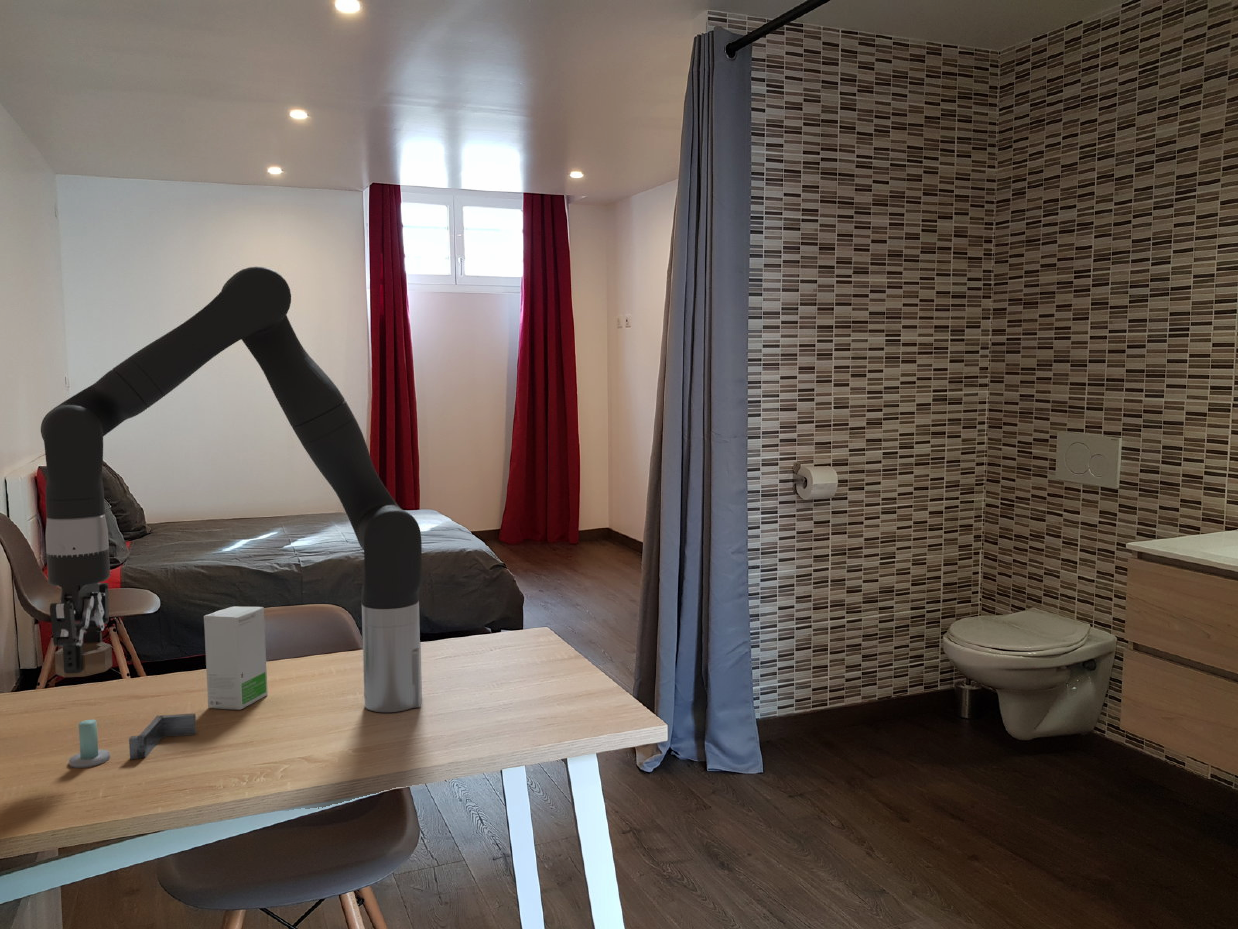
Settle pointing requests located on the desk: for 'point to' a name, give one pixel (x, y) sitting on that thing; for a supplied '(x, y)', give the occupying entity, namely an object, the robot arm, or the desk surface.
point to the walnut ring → (88, 660)
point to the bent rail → (161, 733)
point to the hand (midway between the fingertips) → (84, 664)
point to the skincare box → (235, 657)
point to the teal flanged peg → (88, 747)
